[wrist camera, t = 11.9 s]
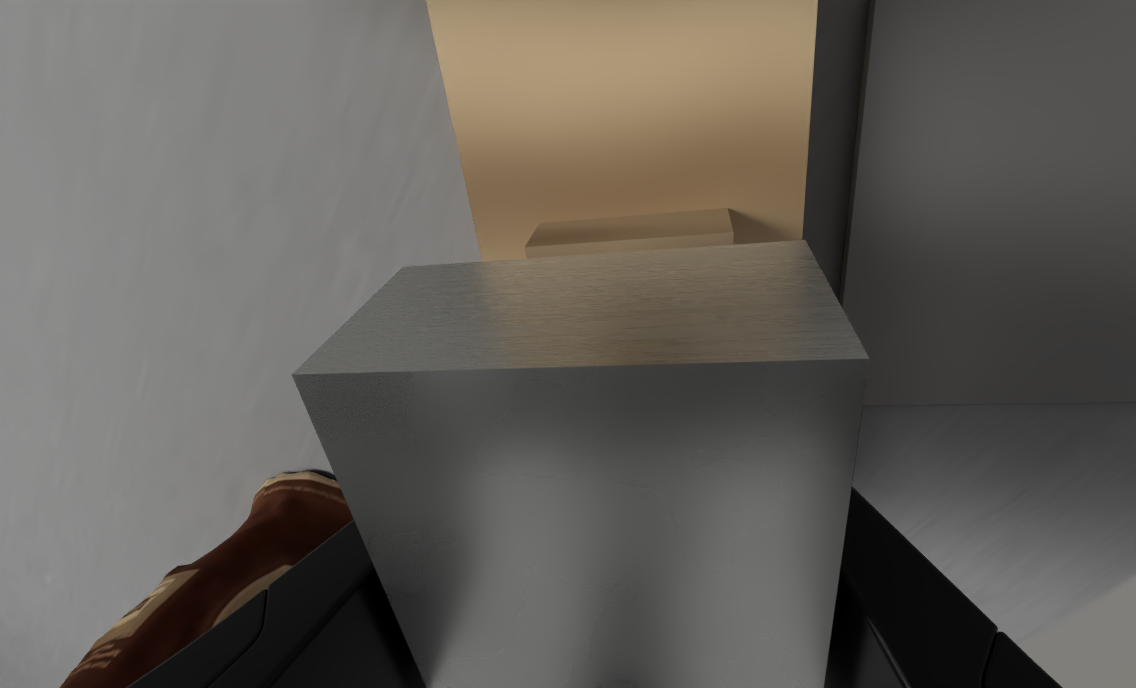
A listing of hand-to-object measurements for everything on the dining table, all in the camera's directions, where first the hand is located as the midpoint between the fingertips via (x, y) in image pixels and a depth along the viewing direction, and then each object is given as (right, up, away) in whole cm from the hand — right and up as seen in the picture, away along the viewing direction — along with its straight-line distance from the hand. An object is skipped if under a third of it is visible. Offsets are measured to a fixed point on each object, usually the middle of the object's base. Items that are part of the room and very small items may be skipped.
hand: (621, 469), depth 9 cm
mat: (+10, +5, +4) cm, 12 cm away
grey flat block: (0, 0, -1) cm, 0 cm away
